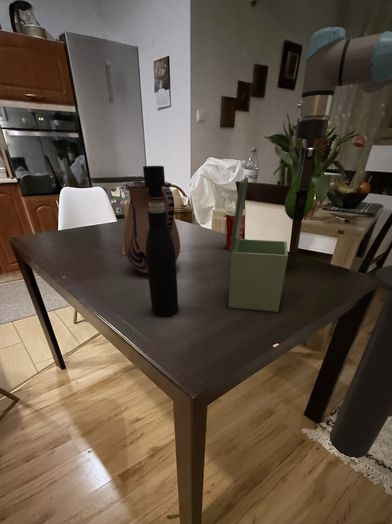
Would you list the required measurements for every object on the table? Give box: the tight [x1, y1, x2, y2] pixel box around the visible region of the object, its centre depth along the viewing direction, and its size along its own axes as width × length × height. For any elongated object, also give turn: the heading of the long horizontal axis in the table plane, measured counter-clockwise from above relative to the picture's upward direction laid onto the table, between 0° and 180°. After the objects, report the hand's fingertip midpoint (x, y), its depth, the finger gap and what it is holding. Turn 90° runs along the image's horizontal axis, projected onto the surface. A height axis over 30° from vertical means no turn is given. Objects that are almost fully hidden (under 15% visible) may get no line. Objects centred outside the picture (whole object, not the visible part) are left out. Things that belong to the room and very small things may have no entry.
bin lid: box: [229, 177, 249, 251], centre depth 63 cm, size 13×12×1 cm
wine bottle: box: [142, 165, 179, 318], centre depth 61 cm, size 6×6×30 cm
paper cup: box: [225, 207, 247, 252], centre depth 108 cm, size 8×8×14 cm
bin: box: [227, 238, 289, 313], centre depth 70 cm, size 12×12×14 cm
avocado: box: [284, 175, 315, 220], centre depth 82 cm, size 8×8×12 cm
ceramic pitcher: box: [123, 180, 181, 274], centre depth 85 cm, size 18×21×25 cm
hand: (296, 217), depth 85 cm, fingers closed on avocado, 8 cm apart
